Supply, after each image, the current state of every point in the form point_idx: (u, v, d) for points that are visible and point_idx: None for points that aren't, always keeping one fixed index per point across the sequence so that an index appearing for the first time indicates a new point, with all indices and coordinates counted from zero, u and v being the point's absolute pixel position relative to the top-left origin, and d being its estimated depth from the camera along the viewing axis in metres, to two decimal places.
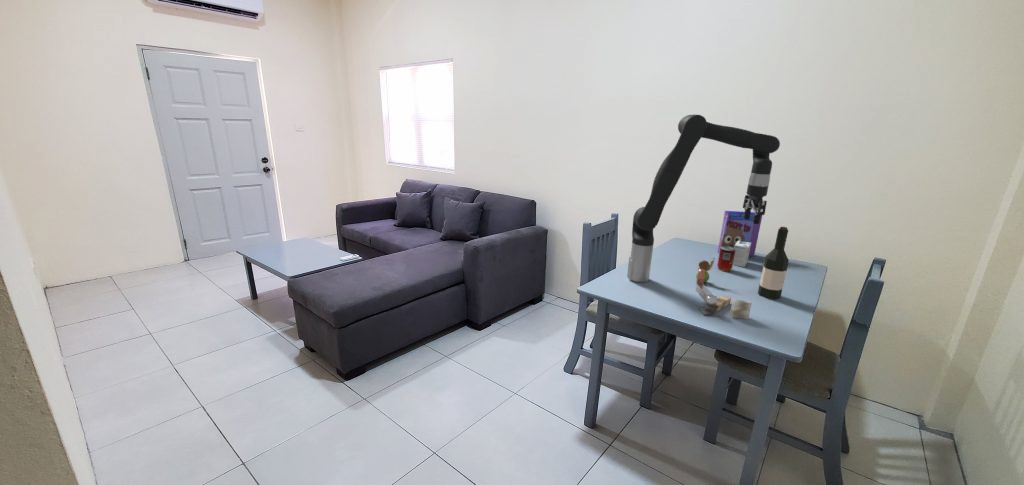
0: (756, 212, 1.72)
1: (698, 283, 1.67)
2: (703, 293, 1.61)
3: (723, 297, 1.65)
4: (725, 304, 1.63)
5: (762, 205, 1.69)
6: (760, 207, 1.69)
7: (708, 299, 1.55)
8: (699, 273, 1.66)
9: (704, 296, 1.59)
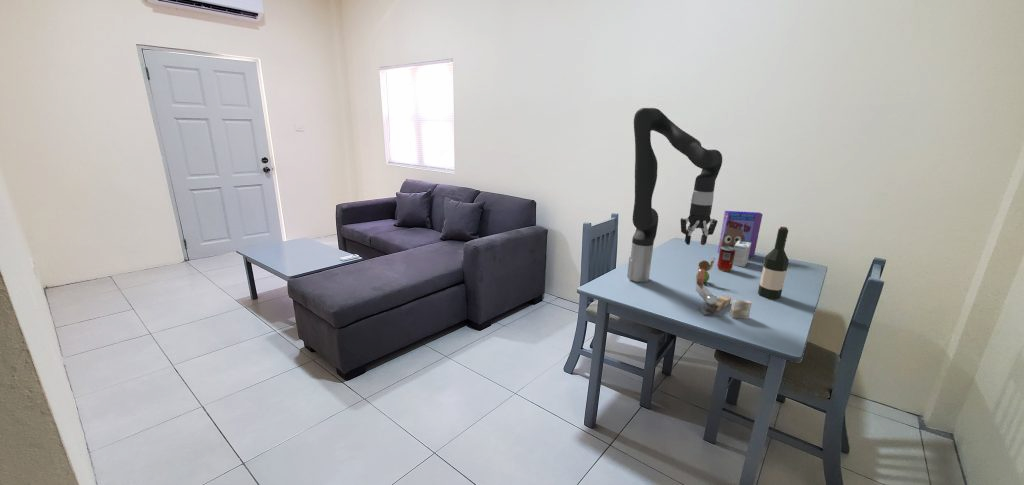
0: (708, 233, 1.61)
1: (698, 283, 1.67)
2: (703, 293, 1.61)
3: (723, 297, 1.65)
4: (725, 304, 1.63)
5: None
6: None
7: (708, 299, 1.55)
8: (699, 273, 1.66)
9: (704, 296, 1.59)
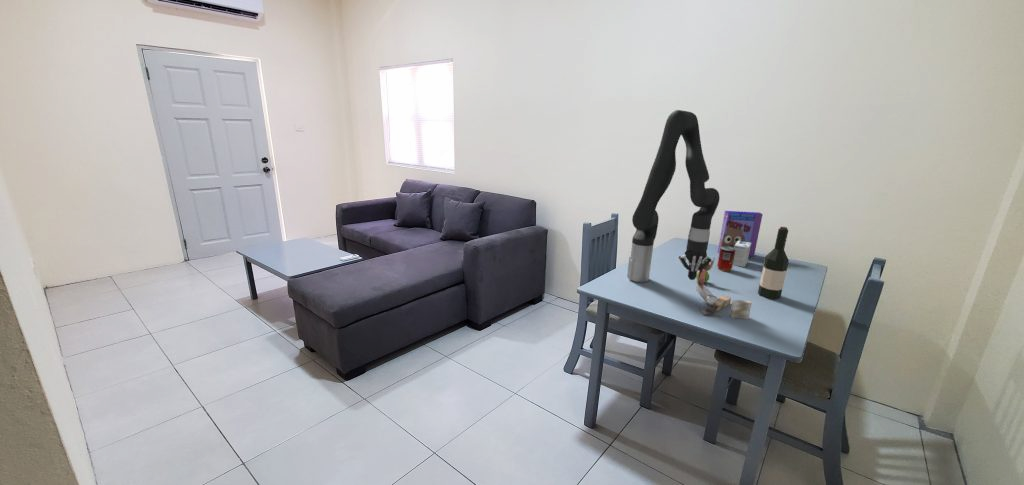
0: (698, 269, 1.65)
1: (699, 283, 1.67)
2: (703, 293, 1.61)
3: (723, 297, 1.65)
4: (725, 304, 1.63)
5: None
6: None
7: (708, 299, 1.55)
8: (700, 273, 1.66)
9: (704, 296, 1.59)
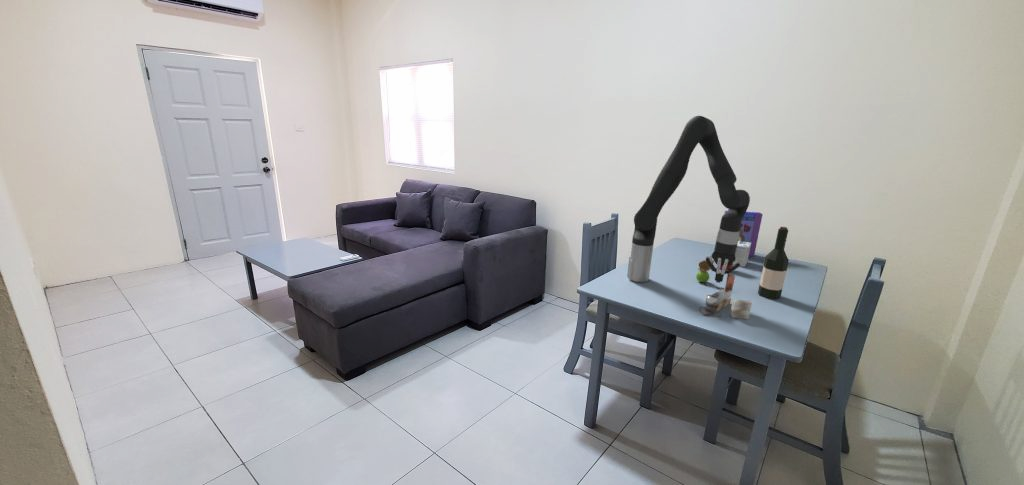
0: (724, 272, 1.62)
1: (725, 287, 1.63)
2: None
3: None
4: (725, 304, 1.63)
5: None
6: (734, 269, 1.60)
7: None
8: (727, 277, 1.62)
9: None
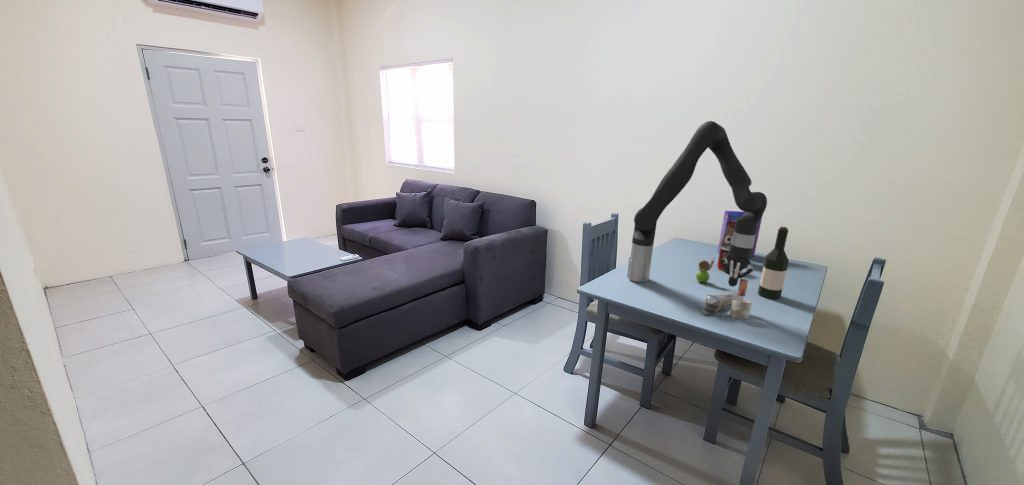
0: (737, 276, 1.58)
1: None
2: None
3: None
4: None
5: (749, 272, 1.55)
6: (747, 274, 1.55)
7: None
8: None
9: None
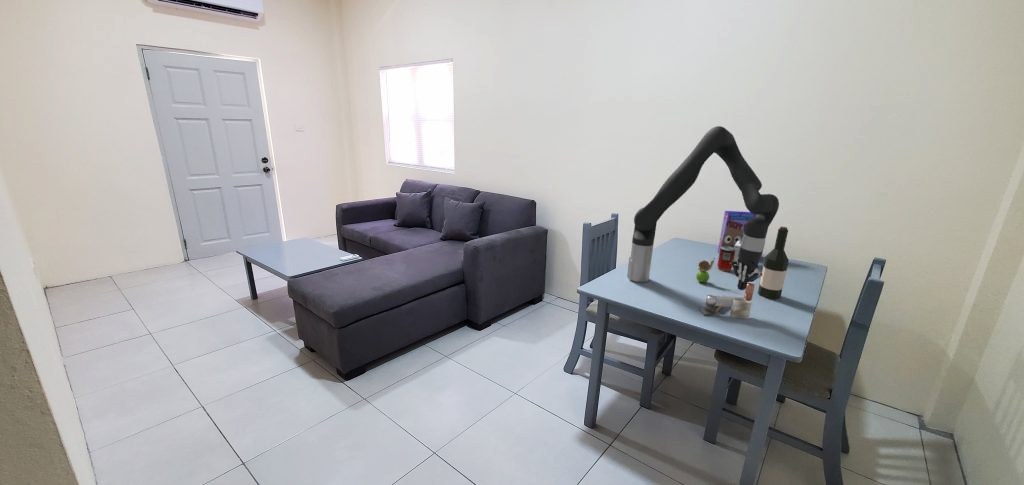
0: (744, 280, 1.55)
1: None
2: None
3: None
4: None
5: (755, 277, 1.51)
6: (752, 278, 1.51)
7: None
8: None
9: None
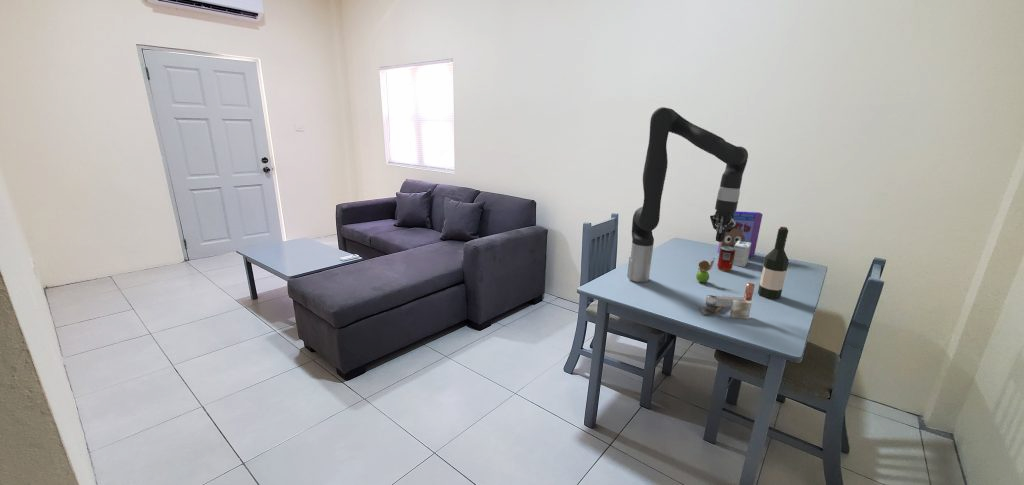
0: (721, 231, 1.62)
1: None
2: None
3: None
4: None
5: (731, 226, 1.58)
6: (729, 228, 1.58)
7: None
8: None
9: None
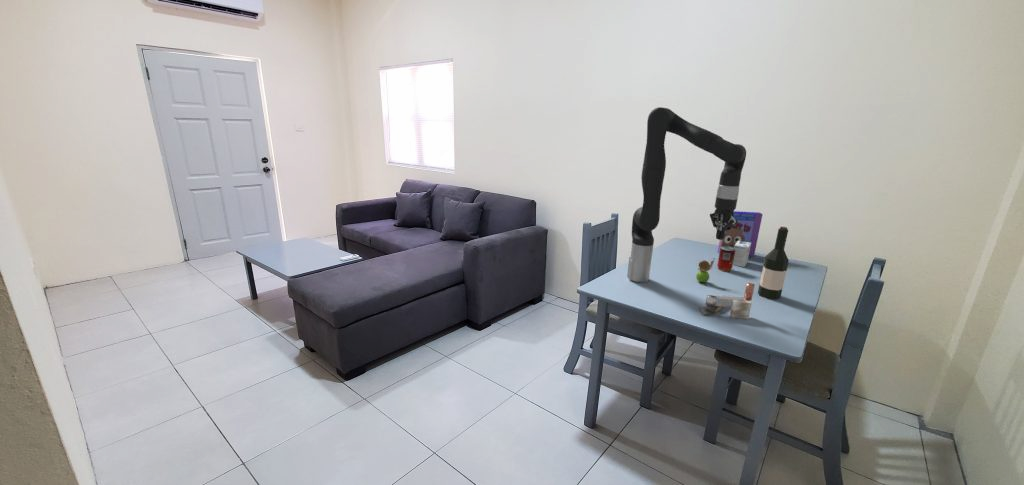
0: (721, 229, 1.62)
1: None
2: None
3: None
4: None
5: (731, 224, 1.58)
6: (729, 226, 1.59)
7: None
8: None
9: None
